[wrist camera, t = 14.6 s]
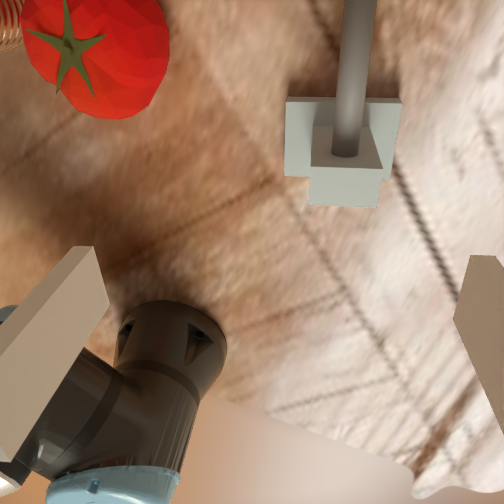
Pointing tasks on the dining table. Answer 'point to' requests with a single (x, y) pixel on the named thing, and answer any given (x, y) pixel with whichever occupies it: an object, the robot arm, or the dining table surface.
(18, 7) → the water bottle
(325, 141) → the stand
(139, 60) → the tomato
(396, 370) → the dining table surface
